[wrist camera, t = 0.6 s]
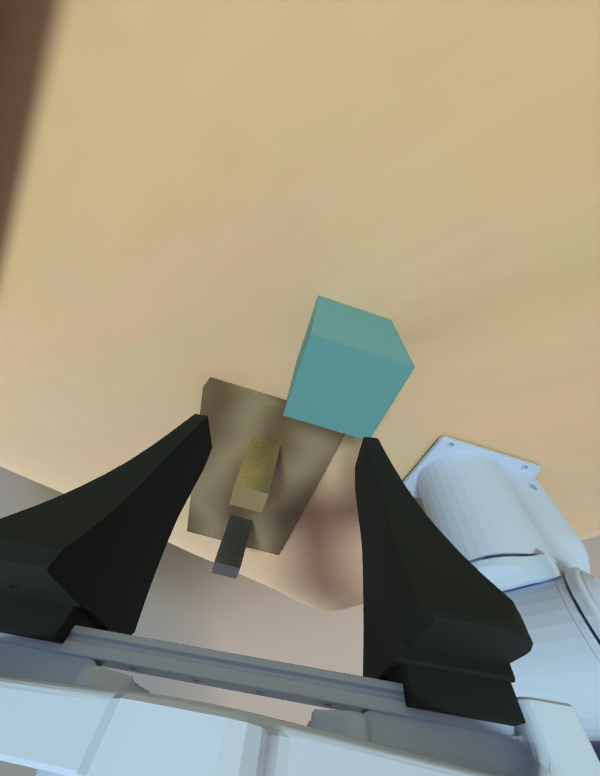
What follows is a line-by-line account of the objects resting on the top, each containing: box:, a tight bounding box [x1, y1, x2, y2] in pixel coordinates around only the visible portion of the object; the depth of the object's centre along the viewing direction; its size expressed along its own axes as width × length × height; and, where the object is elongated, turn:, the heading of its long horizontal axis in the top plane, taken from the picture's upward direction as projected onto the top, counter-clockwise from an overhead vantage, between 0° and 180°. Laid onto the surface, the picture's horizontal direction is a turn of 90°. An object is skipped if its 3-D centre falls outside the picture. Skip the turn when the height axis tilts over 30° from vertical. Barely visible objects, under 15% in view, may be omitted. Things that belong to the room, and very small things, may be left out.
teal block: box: [283, 296, 415, 439], centre depth 17 cm, size 5×5×7 cm
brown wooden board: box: [187, 377, 344, 555], centre depth 29 cm, size 12×23×2 cm, turn 163°
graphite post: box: [212, 515, 253, 579], centre depth 30 cm, size 3×3×5 cm
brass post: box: [229, 436, 280, 513], centre depth 22 cm, size 3×3×5 cm
